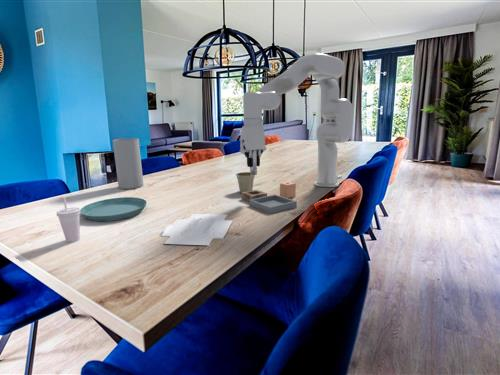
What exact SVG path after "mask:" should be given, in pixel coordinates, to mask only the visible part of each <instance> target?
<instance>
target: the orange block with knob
mask: <svg viewBox="0 0 500 375" xmlns="http://www.w3.org/2000/svg"><path fill="white" fill-rule="evenodd" d="M296 186H297V184H296V183H295V182H293V181H285V182H280V183H279V196H282V197H285V198H288V199H291V198H294V197H296V194H297V192H296Z"/></svg>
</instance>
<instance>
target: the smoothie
mask: <svg viewBox="0 0 500 375" xmlns="http://www.w3.org/2000/svg"><path fill="white" fill-rule="evenodd" d="M62 199H63V205H64V208H62V209H59V210H57V211H56V216H57V218H58V220H59V223H60V226H61V228H62V233H63V235H64V238H65V241H66V242H65V243H76V242H77V241H80V239H81V234H80V230H81V229H80V214H81V213H80V210H81V208H79V207H68V205H67V200H66V196H63V197H62Z"/></svg>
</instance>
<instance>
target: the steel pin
mask: <svg viewBox="0 0 500 375" xmlns="http://www.w3.org/2000/svg"><path fill="white" fill-rule="evenodd" d="M251 158H253V167H249V172H250V175H255V176H256V175H258V166H257V150H252V156H251Z"/></svg>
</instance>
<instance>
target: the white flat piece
mask: <svg viewBox="0 0 500 375" xmlns="http://www.w3.org/2000/svg"><path fill="white" fill-rule="evenodd" d="M227 217H228V214H221V213H220V214H215V213H213V214H212V213H207V214H206V213H192V214H190V216H188V218H185V219H184V218H178V219H177V220H175V221H174V222H173V223H170V222H168V223H166V224H165V225H164V226H163V232H162V234H161V235H160V237H161V238H165V237H166V238H168V239H166V240H165V242H164V243H163V245H165V244H166V245H185V246H188V245H189V246H190V245H192V246H193V245H194V246H207V247H209V246H210V244H211V242H212V240H214V239H217V240H218V239H221V240H223V239H224V237H225V236H226V234H227V232H228V230H229V228H230V226H231V225H232V223H233V222H234V220H233V219H232V220H231V219H229V220H227V219H226V218H227Z"/></svg>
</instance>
